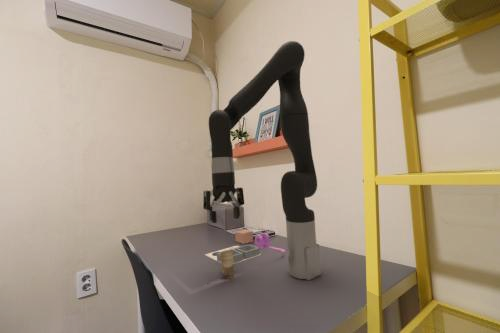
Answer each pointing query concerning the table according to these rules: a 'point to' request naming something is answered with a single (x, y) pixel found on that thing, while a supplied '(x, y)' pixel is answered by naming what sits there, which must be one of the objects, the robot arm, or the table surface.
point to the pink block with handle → (264, 242)
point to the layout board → (237, 253)
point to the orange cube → (244, 236)
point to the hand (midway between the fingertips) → (225, 220)
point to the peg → (227, 264)
